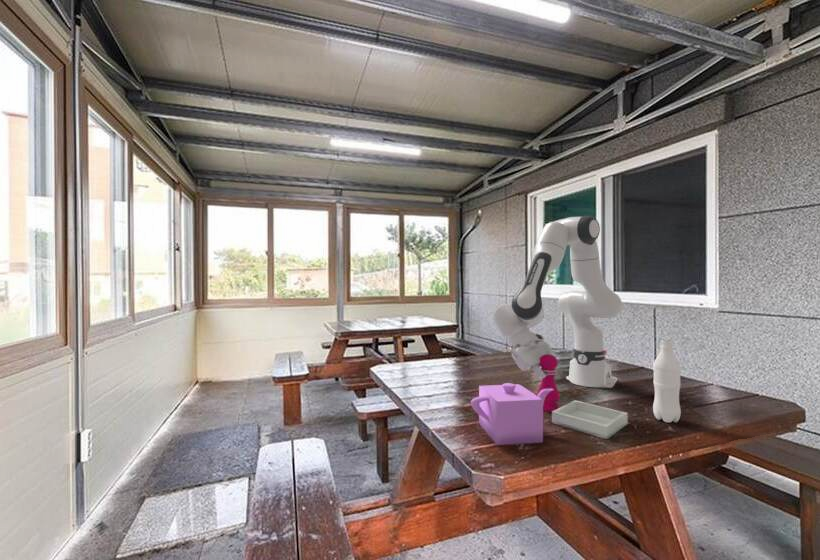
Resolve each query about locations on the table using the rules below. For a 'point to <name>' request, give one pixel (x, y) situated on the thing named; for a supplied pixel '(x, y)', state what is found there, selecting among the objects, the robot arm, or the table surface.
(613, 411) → the tray
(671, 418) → the water bottle
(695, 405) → the table surface
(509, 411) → the teapot
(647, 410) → the table surface
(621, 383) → the table surface
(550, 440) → the table surface
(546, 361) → the pepper mill
